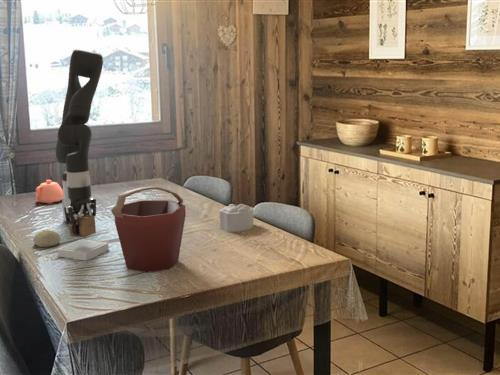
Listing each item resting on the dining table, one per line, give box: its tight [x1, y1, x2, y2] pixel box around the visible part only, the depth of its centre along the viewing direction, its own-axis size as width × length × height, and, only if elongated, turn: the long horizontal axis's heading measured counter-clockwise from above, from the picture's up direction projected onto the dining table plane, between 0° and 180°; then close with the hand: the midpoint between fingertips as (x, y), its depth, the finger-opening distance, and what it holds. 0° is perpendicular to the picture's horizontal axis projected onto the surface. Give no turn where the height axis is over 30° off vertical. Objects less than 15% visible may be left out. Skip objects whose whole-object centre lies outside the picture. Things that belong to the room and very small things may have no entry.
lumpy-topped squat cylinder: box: [218, 203, 254, 233], centre depth 236 cm, size 10×13×9 cm
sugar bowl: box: [35, 179, 64, 205], centre depth 281 cm, size 12×14×10 cm
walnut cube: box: [68, 215, 97, 239], centre depth 206 cm, size 6×6×6 cm
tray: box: [56, 239, 110, 261], centre depth 208 cm, size 12×12×3 cm
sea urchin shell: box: [32, 229, 61, 248], centre depth 219 cm, size 9×8×8 cm
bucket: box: [110, 186, 187, 273], centre depth 195 cm, size 24×22×25 cm
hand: (82, 232), depth 207 cm, fingers closed on walnut cube, 6 cm apart
